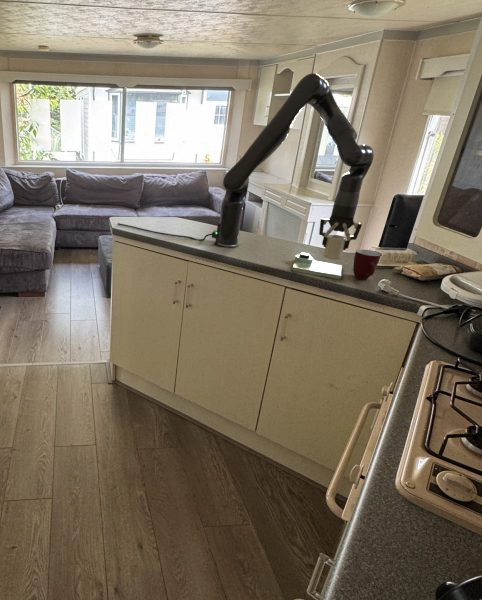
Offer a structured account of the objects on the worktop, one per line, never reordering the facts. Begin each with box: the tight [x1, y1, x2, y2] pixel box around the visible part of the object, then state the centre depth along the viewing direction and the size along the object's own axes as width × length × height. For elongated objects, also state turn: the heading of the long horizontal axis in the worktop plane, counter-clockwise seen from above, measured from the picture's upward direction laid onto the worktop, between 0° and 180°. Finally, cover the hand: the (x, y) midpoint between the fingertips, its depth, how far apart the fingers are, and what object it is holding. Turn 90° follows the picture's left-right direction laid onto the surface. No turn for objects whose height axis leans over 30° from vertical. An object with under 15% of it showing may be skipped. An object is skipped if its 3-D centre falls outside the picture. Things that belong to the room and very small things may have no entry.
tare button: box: [299, 252, 311, 259], centre depth 172 cm, size 4×4×2 cm
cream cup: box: [322, 234, 347, 261], centre depth 162 cm, size 6×6×8 cm
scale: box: [291, 254, 343, 280], centre depth 168 cm, size 17×14×3 cm
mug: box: [352, 248, 382, 281], centre depth 158 cm, size 10×8×10 cm
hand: (334, 247), depth 162 cm, fingers closed on cream cup, 6 cm apart
